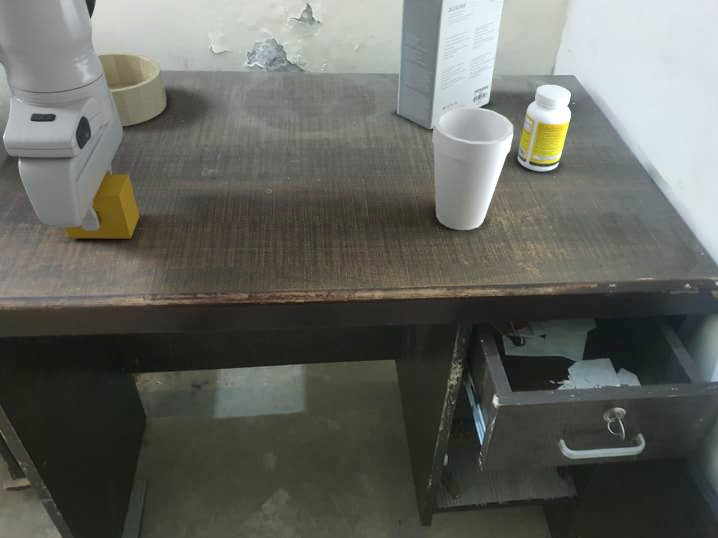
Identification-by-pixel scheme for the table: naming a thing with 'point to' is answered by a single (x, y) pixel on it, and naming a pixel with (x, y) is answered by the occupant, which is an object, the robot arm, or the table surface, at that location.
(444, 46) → the hard drive box
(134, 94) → the bowl
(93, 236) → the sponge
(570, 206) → the table surface
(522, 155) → the pill bottle
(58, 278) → the table surface
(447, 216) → the foam cup
